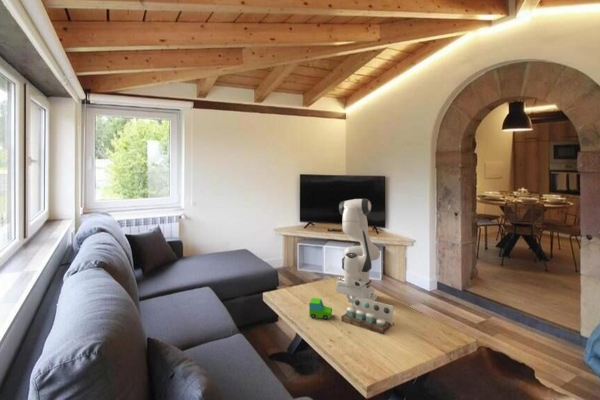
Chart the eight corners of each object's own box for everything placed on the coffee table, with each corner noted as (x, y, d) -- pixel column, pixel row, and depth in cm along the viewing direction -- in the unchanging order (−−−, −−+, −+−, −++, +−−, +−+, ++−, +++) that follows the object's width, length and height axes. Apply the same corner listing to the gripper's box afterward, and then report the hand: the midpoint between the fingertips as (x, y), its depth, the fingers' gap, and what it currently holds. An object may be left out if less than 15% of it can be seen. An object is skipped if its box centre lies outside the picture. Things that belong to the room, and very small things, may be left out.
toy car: (330, 321, 211) (330, 305, 210) (309, 319, 213) (309, 303, 212) (332, 314, 221) (332, 298, 220) (311, 312, 223) (311, 297, 222)
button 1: (349, 312, 215) (349, 306, 215) (356, 314, 212) (356, 308, 212) (345, 315, 211) (345, 308, 211) (352, 317, 209) (352, 310, 208)
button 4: (378, 324, 204) (378, 317, 203) (386, 327, 201) (386, 319, 200) (374, 327, 200) (375, 320, 200) (382, 330, 197) (382, 323, 197)
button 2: (358, 315, 211) (358, 308, 211) (365, 317, 209) (366, 310, 208) (354, 318, 208) (355, 311, 207) (362, 320, 205) (362, 313, 204)
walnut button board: (349, 315, 218) (349, 310, 218) (390, 327, 202) (390, 322, 202) (341, 321, 211) (341, 316, 210) (383, 334, 194) (383, 329, 194)
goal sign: (353, 312, 223) (353, 294, 222) (393, 324, 207) (394, 305, 205) (350, 314, 220) (350, 296, 218) (391, 326, 204) (391, 307, 202)
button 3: (368, 318, 207) (368, 311, 207) (375, 320, 205) (376, 313, 204) (364, 321, 204) (364, 314, 203) (372, 323, 201) (372, 316, 200)
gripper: (333, 278, 213) (333, 300, 214) (363, 284, 201) (363, 307, 202) (339, 275, 218) (338, 297, 219) (368, 281, 206) (368, 304, 207)
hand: (351, 302), depth 211 cm, fingers closed
